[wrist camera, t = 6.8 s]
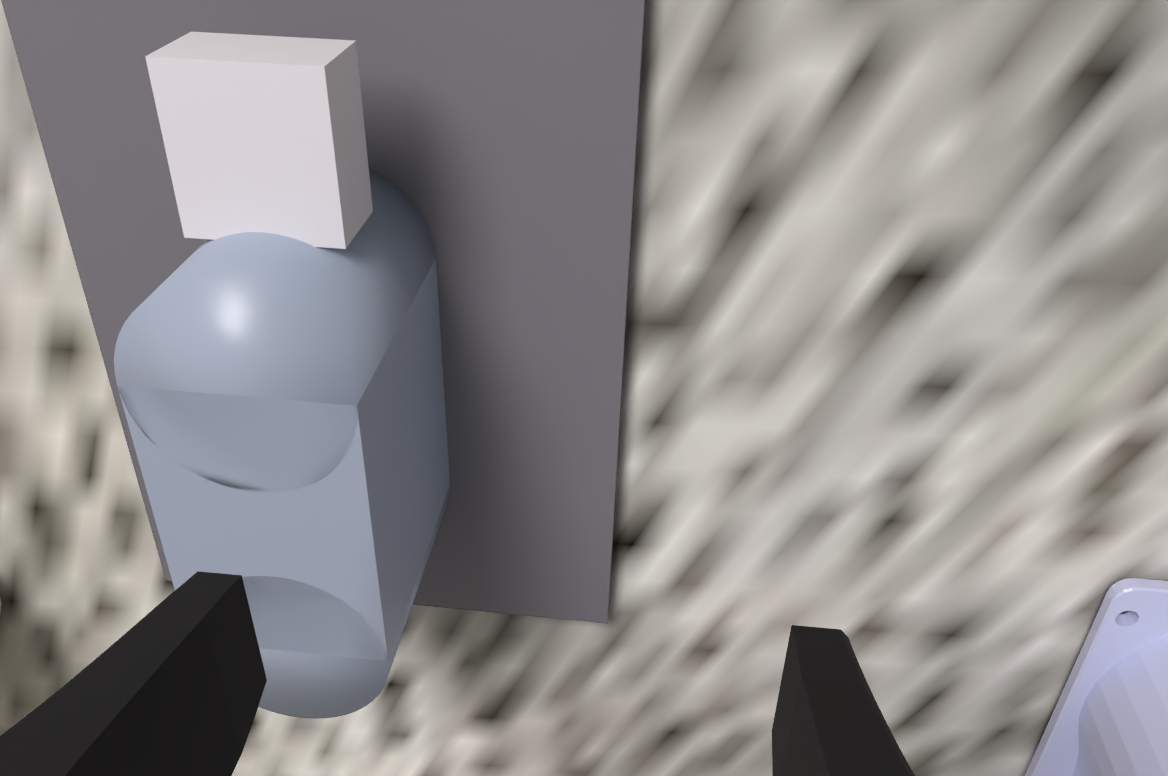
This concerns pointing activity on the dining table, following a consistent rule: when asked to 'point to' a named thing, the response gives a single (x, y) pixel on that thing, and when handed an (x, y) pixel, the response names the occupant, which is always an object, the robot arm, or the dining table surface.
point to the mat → (455, 220)
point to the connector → (290, 364)
